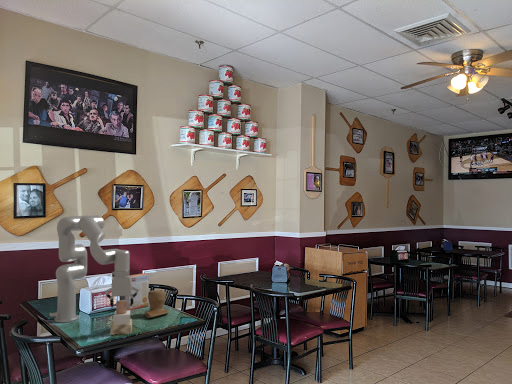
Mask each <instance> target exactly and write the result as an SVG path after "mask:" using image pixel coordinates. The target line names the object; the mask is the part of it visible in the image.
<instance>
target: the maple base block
mask: <svg viewBox="0 0 512 384" xmlns="http://www.w3.org/2000/svg"><path fill="white" fill-rule="evenodd" d="M132 330H133V318H130V324H124V325H114V319H112V321H111V323H110V333H109V334H110V336H116V335H115V334H117V335H130V334H132ZM129 333H130V334H129Z"/></svg>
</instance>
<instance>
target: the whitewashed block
mask: <svg viewBox="0 0 512 384" xmlns="http://www.w3.org/2000/svg"><path fill="white" fill-rule="evenodd" d="M130 319H131V310H127V313H125V314H117V313H116V310H115V311H114V313H113V320H114V325H124V324H130Z"/></svg>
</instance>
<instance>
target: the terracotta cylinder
mask: <svg viewBox="0 0 512 384" xmlns="http://www.w3.org/2000/svg"><path fill="white" fill-rule="evenodd" d="M115 303H116V304H115V305H116V306H115V309H116V310H115V311H116V313H117V314H125V313H127V301H126V300H125V299H122V300H121V299H120V300H117V301H116V302H115Z"/></svg>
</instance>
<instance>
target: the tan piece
mask: <svg viewBox="0 0 512 384" xmlns="http://www.w3.org/2000/svg"><path fill="white" fill-rule="evenodd" d="M148 300H149V310H147V311H145V312H144V313H143V314H144V316H145V317H146V318H147V319H151V318H155V317H160V316H163V315H166V314H169V313H170V311H169V310H167V309H165V308H164V305H165V303H166V302H165V301H166V292H165V290H164V289H161V290H160V289H157V290H149V292H148Z"/></svg>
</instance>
